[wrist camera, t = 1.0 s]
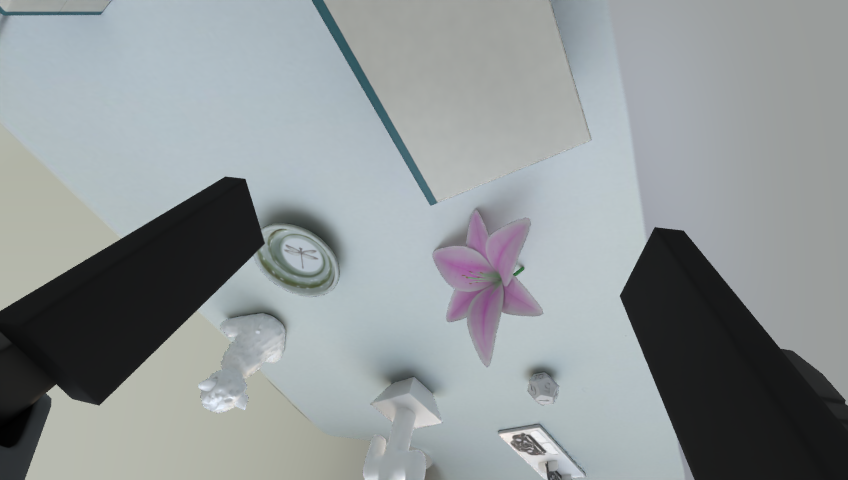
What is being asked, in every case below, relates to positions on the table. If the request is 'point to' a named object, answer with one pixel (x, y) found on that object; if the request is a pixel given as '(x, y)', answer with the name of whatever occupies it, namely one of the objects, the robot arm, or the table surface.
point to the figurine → (401, 432)
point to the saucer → (297, 260)
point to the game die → (543, 388)
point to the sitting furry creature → (242, 359)
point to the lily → (486, 280)
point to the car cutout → (542, 453)
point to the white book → (462, 84)
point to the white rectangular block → (52, 7)
